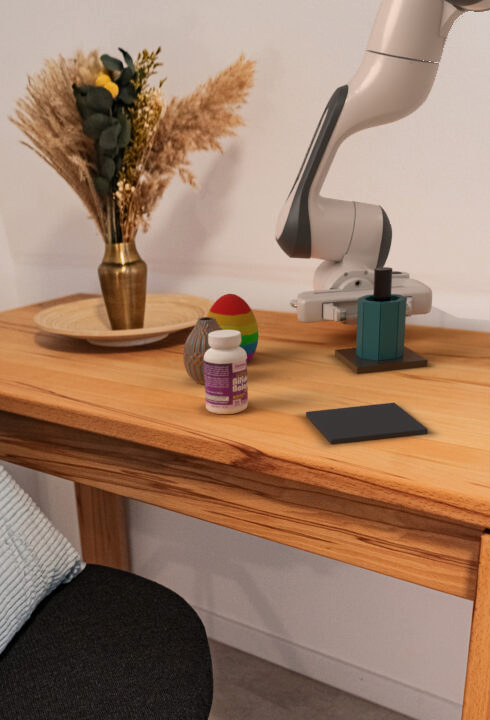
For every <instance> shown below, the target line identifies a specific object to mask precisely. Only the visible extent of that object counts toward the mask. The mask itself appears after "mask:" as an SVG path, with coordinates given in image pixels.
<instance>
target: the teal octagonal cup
mask: <svg viewBox="0 0 490 720" xmlns="http://www.w3.org/2000/svg"><path fill="white" fill-rule="evenodd" d="M406 302H407V298H406V297H404V296H402V295H399V294H391V301H385V302H377V301H373V295H365V296H363V297H360V298H358V307H357V325H356V337H355V338H356V342H355V343H356V344H355V348H356V355H357V356H359V357H360V358H362V359H368V360H376V361H378V360H379V361H381V360H390V359H397V358H398V357H400V356H402V355H403V354H404V346H405V336H406V335H405V334H406V319H407V317H406Z"/></svg>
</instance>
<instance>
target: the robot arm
mask: <svg viewBox="0 0 490 720" xmlns="http://www.w3.org/2000/svg"><path fill="white" fill-rule="evenodd" d="M489 10H490V0H381V2H380V4H379V7H378V9H377V12H376V15H375V18H374V21H373V23H372V26H371V30H370V33H369V36H368V39H367V43H366V47H365V49H366V50H365V51H364V55H363V58H362V60H361V63H360V64H359V67H358V68H357V70H356V72H355V73H354V75H353V76H352V78H351V79H350V80H349V81H348V82H347V83H346V84H344V85H342V86H339V87H337V88H336V89H335V90H334V92H333V93H332V94H331V96H330V97H329V99H328V101H327V104H326V106H325V108H324V110H323V112H322V114H321V117H320V119H319V121H318V124H317V126H316V129H315V131H314V132H313V136H312V138H311V141H310V144H309V146H308V148H307V151H306V153H305V155H304V158H303V160H302V163H301V165H300V168H299V171H298V173H297V175H296V178H295V180H294V183H293V185H292V187H291V189H290V192H289V193H288V196H287V198H286V200H285V202H284V204H283V205H282V208H281V210H280V211H279V214H278V217H277V220H276V224H275V241H276V243H277V245H278V246H279V248H280V249H281V250H282V251H283V253H284V254H285V255H286V256H287V257H289V258H290V259H304V260H305V259H306V260H310V259H315V260H323V261H322V262H321V263H320V264H318V266H317V267H316V269H315V270H314V273H313V277H312V288H313V289H312V290H306V291H300V292H299V293H298V294H297V296H296V298H295V299H291V300H290V302H289V305H290V307H291V308H292V309H296V317H297V320H298V322H300V323H302V324H303V323H304V324H312V323H325V322H335V323H340V324H343V325H346V326H357V307H358V298H360V297H363V296H365V295H373V291H374V269H375V268H380V267H385V265H386V262H387V260H388V257H389V254H390V252H391V246H392V241H393V227H392V223H391V221H390V218H389V215H388V214H387V212H386V210H385V209H384V208H383V207H382V206H381V205H380V204H379V205H377V204H374V203H373V204H372V203H366V202H360V201H353V200H352V201H350V200H344V199H338V198H330V197H325V196H322V195H321V190H322V188H323V186H324V184H325V182H326V179H327V177H328V174H329V171H330V169H331V166H332V164H333V162H334V160H335V158H336V155H337V152H338V151H339V148H340V147H341V145H342V144H343V143H344V142H345V141H346V140H347V139H348V138H350V137H351V136H353V135H355V134H357V133H359V132H361V131H364V130H367V129H371V128H375V127H381V126H384V125H388V124H392V123H395V122H399V121H401V120H404V119H405V118H407V117H409V116H411V115H412V114H413V113H415V112H416V111H417V110H419V108H421V106H422V105H423V104H424V103H425V102H426V101H427V99H428V97H429V95H430V93H431V91H432V88H433V87H434V83H435V81H436V78H435V77H437V75H436V74H438V72H439V68H440V65H439V63H441V61H442V57H443V54H444V50H443V48H444V49H445V47H444V45H445V46H446V43H447V40H448V37H449V35H448V33H449V31H450V32H451V30H452V28H453V27H452V25H453V23H454V21H455V20H456V19H457V18H458V17H459V16H460V15H462V14H463V13H465V12H468V11H474V12H484V11H489ZM453 26H454V25H453ZM451 27H452V28H451ZM450 29H451V30H450ZM449 34H450V33H449ZM447 36H448V37H447ZM446 39H447V40H446ZM445 42H446V43H445ZM442 53H443V54H442ZM441 56H442V57H441ZM423 60H424V61H423ZM440 60H441V61H440ZM429 61H431V62H429ZM434 62H438V63H434ZM438 67H439V68H438ZM437 71H438V72H437ZM390 223H391V224H390ZM410 276H411V275H410V273H408V272H406V271H398V270H397V271H396V270H392V289H391V294H399V295H402V296H404V297H406V298H407V302H406V318H408V317H412V316H417V315H427V314H429V313H431V311H432V308H433V307H432V306H433V290H432V289H431V287H430V286H428V285H427V284H425V283H424V282H422V281H420V280H418V279H415V278H410Z"/></svg>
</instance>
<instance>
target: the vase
mask: <svg viewBox="0 0 490 720" xmlns="http://www.w3.org/2000/svg"><path fill="white" fill-rule="evenodd" d="M218 330H222V328H221V327H220V326H219V325H218V323H217V321H216V319H215V318H214V317H207V316H201V317H199V318H198V319H197V321H196V323H195V325H194V327H193V329H192V330H191V332H190V333H189V335H188V336H187V338H186V340H185V342H184V346H183V353H182V357H183V365H184V369H185V372H186V374H187V376H189V378H190V379H191V380H192V381H193V382H194V383H196V384H198V385H205V376H204V354H205V353H206V351H207V350H208V349H210V348H211V347H210V346H209V344H208V334H209V333H211V332H214V331H218Z"/></svg>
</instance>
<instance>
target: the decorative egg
mask: <svg viewBox="0 0 490 720" xmlns="http://www.w3.org/2000/svg"><path fill="white" fill-rule="evenodd" d="M206 317H214V318H215V319H216V321H217V323H218V325H219V326H220V327H221V328H222V330H236V331H239V332H240V333H241V344H240V345H239V347H241V348H243V349H244V350H245V352H246V354H247V363H249V362H250V361H251V360H252V358H253V356H254V355H255V353H256V351H257V347H258V344H259V326H258V322H257V319H256V316H255V314H254V312H253V310H252V308H251V306H250V305H249V304H248V303H247V301H245V299H244V298H242V297H241V296H239V295H237V294H235V293H226V294H224V295H222V296H219V298H217V299H216V301H215V302H213V304H212V305H211V307H210V308H209V311H208V313H207V315H206Z"/></svg>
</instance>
